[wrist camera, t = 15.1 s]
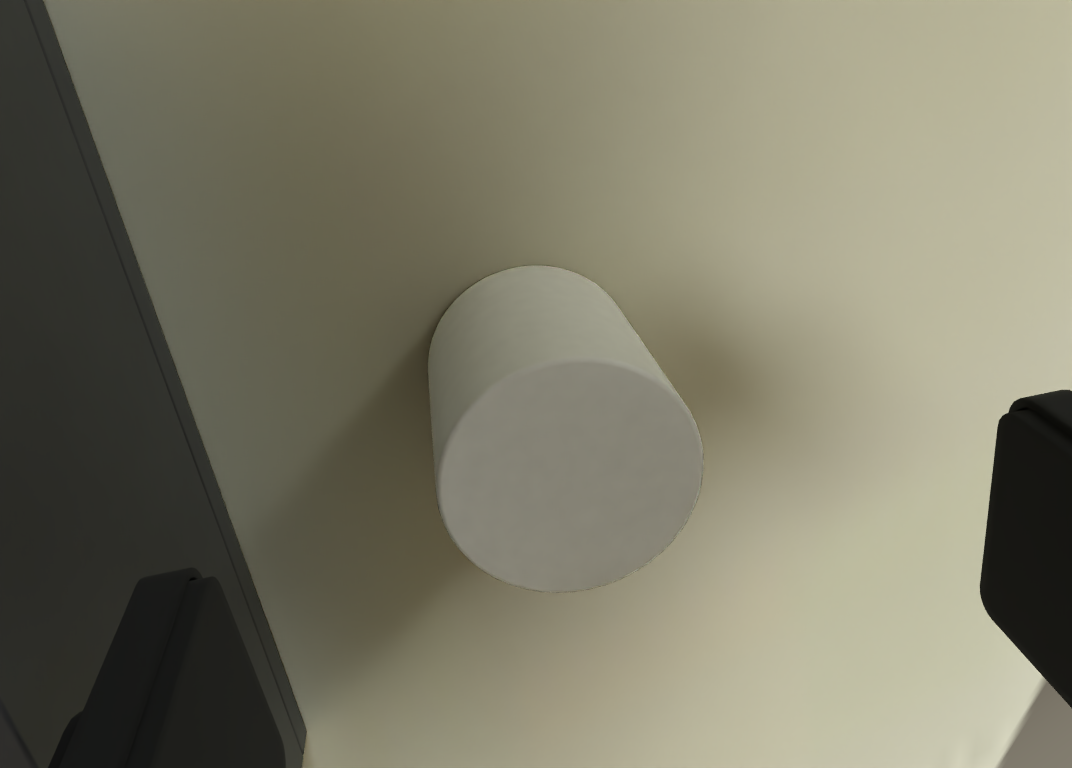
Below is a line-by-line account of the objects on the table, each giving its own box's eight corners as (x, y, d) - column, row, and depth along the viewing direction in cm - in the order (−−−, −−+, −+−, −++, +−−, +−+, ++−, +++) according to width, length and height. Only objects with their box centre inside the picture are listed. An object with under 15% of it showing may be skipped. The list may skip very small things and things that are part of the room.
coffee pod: (468, 234, 17) (492, 320, 13) (665, 302, 18) (750, 403, 14) (400, 424, 19) (399, 562, 14) (585, 475, 20) (639, 618, 15)
